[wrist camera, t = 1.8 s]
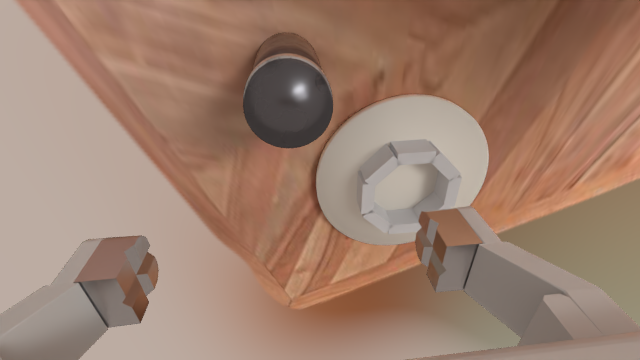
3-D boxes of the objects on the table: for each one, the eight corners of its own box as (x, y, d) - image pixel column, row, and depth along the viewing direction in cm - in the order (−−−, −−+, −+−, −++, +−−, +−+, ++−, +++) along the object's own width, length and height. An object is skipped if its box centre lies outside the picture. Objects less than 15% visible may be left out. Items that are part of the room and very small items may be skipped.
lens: (318, 29, 26) (334, 57, 18) (320, 95, 29) (334, 146, 21) (250, 32, 26) (234, 62, 17) (259, 99, 29) (248, 152, 20)
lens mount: (504, 88, 30) (528, 101, 27) (463, 232, 40) (477, 253, 37) (312, 99, 29) (315, 113, 26) (318, 245, 39) (321, 267, 36)
